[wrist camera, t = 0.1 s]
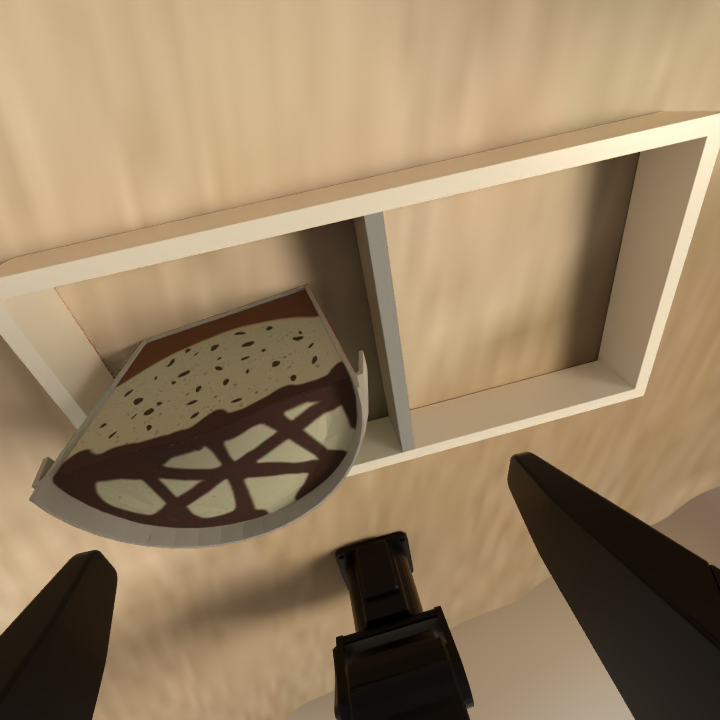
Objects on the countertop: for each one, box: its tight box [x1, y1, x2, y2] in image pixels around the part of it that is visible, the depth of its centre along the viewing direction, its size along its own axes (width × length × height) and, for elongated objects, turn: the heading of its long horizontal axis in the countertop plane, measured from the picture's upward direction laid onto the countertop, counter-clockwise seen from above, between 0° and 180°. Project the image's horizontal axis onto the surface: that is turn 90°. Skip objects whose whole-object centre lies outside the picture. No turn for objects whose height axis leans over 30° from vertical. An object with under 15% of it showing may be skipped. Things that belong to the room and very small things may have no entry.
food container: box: [29, 284, 368, 548], centre depth 18 cm, size 12×6×10 cm, turn 105°
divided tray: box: [0, 111, 720, 477], centre depth 22 cm, size 16×32×4 cm, turn 99°
